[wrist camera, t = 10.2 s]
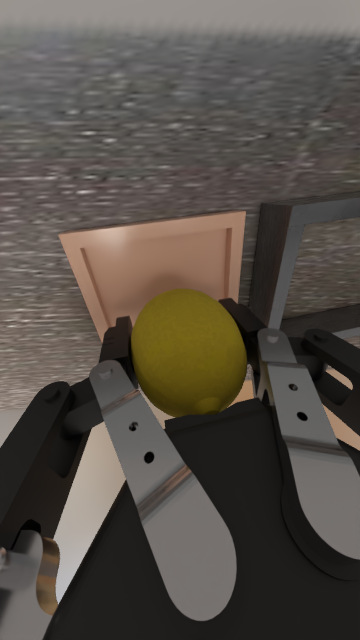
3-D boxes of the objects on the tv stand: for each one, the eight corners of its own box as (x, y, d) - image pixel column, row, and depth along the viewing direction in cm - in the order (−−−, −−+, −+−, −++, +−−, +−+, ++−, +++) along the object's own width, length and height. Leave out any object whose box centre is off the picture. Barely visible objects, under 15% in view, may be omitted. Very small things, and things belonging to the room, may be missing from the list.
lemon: (112, 306, 13) (91, 432, 6) (180, 249, 12) (245, 326, 5) (166, 351, 16) (192, 468, 9) (224, 309, 14) (301, 407, 8)
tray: (236, 209, 13) (245, 211, 12) (228, 337, 19) (233, 345, 18) (64, 231, 11) (58, 234, 10) (114, 361, 17) (113, 371, 16)
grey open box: (458, 179, 15) (524, 177, 12) (385, 306, 21) (419, 321, 18) (261, 203, 13) (292, 205, 10) (245, 335, 19) (262, 357, 16)
